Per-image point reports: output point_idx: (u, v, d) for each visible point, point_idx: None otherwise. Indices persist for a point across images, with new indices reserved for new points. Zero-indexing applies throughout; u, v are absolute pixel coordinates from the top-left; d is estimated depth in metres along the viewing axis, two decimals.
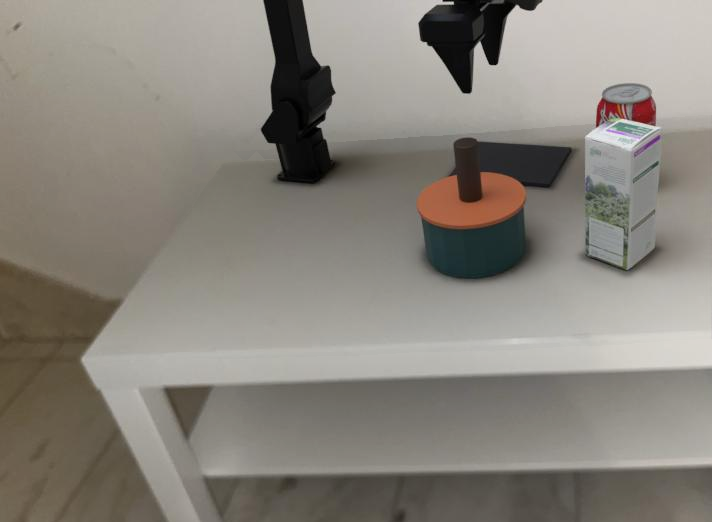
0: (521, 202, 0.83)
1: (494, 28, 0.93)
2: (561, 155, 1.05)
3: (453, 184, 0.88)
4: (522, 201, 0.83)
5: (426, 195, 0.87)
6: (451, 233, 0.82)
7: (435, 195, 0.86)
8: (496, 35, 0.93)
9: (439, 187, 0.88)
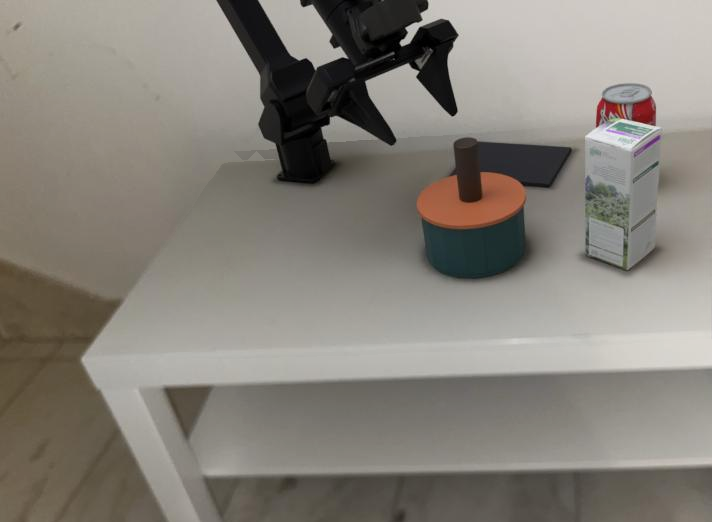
0: (521, 202, 0.83)
1: (436, 80, 0.87)
2: (561, 155, 1.05)
3: (453, 184, 0.88)
4: (522, 201, 0.83)
5: (426, 195, 0.87)
6: (451, 233, 0.82)
7: (435, 195, 0.86)
8: (440, 85, 0.87)
9: (439, 187, 0.88)
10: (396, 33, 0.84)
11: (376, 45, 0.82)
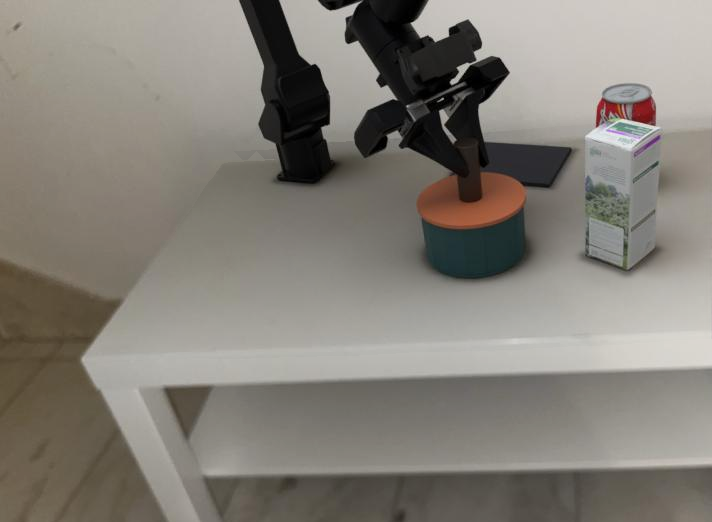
0: (521, 202, 0.83)
1: (467, 130, 0.83)
2: (561, 155, 1.05)
3: (453, 184, 0.88)
4: (522, 201, 0.83)
5: (426, 195, 0.87)
6: (451, 233, 0.82)
7: (435, 195, 0.86)
8: (471, 135, 0.82)
9: (439, 187, 0.88)
10: (447, 72, 0.81)
11: (427, 85, 0.79)
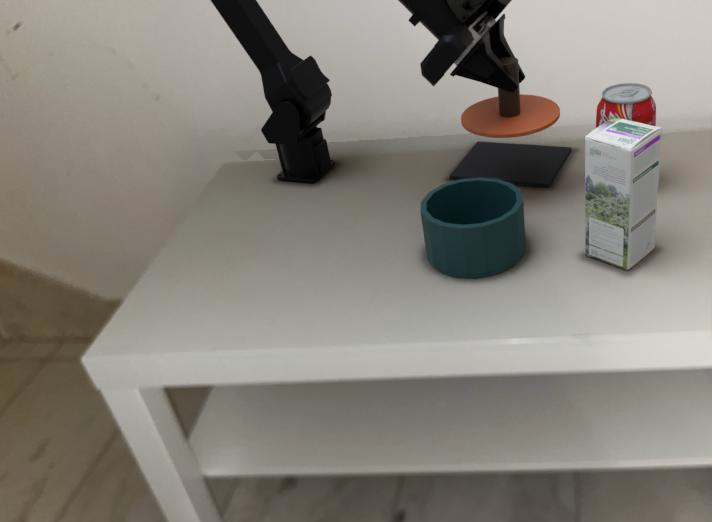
0: (557, 107, 0.94)
1: (499, 52, 0.92)
2: (561, 155, 1.05)
3: (482, 109, 0.97)
4: (557, 106, 0.95)
5: (468, 120, 0.94)
6: (451, 233, 0.82)
7: (477, 119, 0.94)
8: (505, 55, 0.92)
9: (473, 113, 0.96)
10: None
11: (471, 12, 0.87)
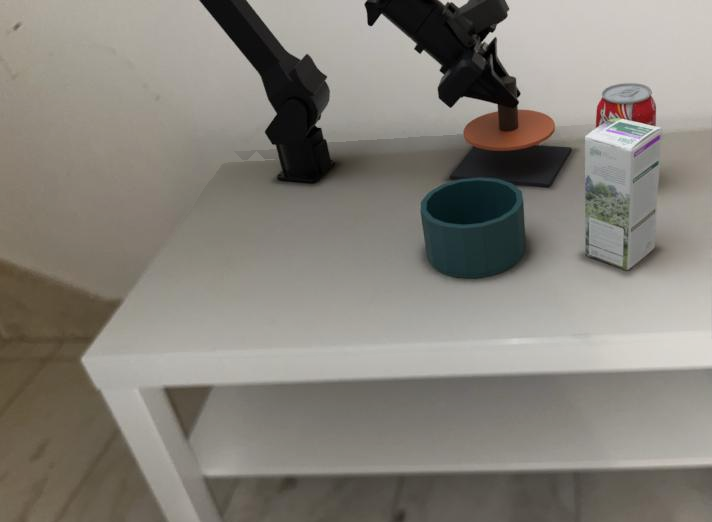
0: (550, 118, 1.03)
1: (495, 72, 1.00)
2: (561, 155, 1.05)
3: (480, 125, 1.04)
4: (549, 117, 1.04)
5: (473, 137, 1.01)
6: (451, 233, 0.82)
7: (480, 135, 1.02)
8: (501, 75, 1.00)
9: (474, 130, 1.03)
10: None
11: (474, 38, 0.95)
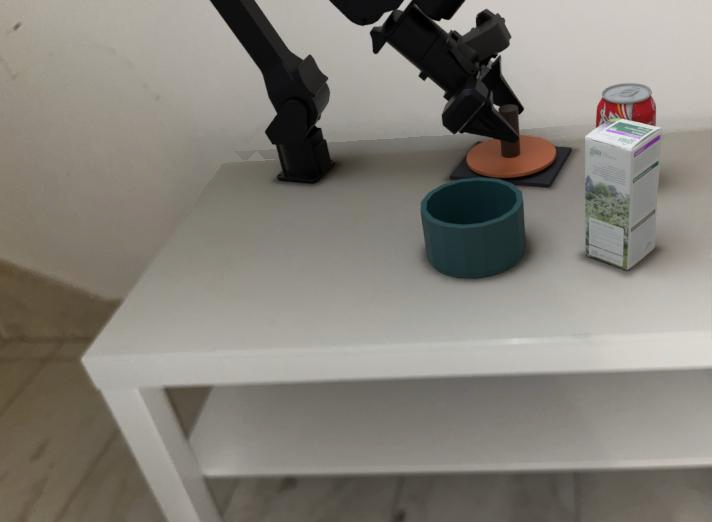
0: (551, 144, 1.06)
1: (500, 88, 1.04)
2: (561, 155, 1.05)
3: (483, 152, 1.06)
4: None
5: (476, 164, 1.04)
6: (451, 233, 0.82)
7: (483, 161, 1.04)
8: (505, 91, 1.04)
9: (477, 156, 1.05)
10: None
11: None
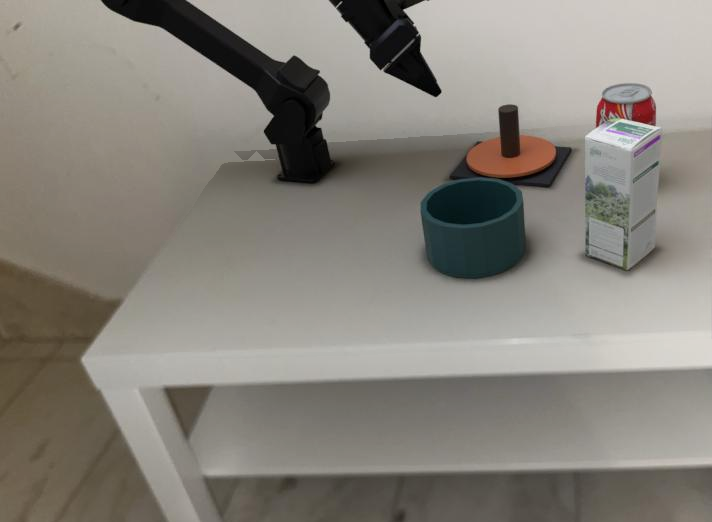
0: (551, 144, 1.06)
1: None
2: (561, 155, 1.05)
3: (483, 152, 1.06)
4: None
5: (476, 164, 1.04)
6: (451, 233, 0.82)
7: (483, 161, 1.04)
8: None
9: (477, 156, 1.05)
10: None
11: None
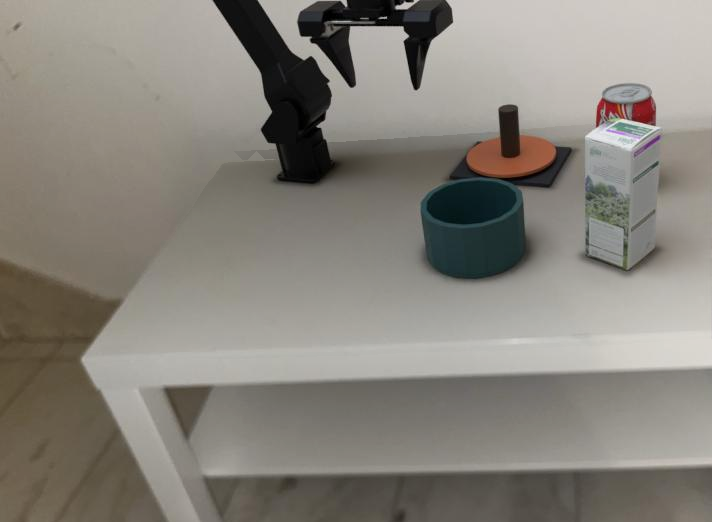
0: (551, 144, 1.06)
1: (347, 52, 0.98)
2: (561, 155, 1.05)
3: (483, 152, 1.06)
4: None
5: (476, 164, 1.04)
6: (451, 233, 0.82)
7: (483, 161, 1.04)
8: (349, 57, 0.98)
9: (477, 156, 1.05)
10: None
11: None
